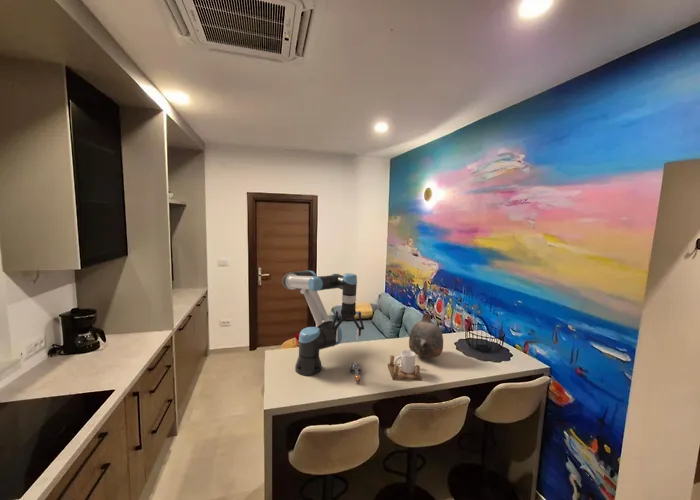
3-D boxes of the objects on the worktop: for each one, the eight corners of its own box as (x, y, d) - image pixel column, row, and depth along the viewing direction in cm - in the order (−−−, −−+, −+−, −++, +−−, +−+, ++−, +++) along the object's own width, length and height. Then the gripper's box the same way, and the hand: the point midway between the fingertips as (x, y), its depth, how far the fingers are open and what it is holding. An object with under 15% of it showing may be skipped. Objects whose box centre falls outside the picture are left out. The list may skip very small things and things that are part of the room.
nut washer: (349, 374, 172) (349, 372, 172) (349, 368, 179) (349, 366, 179) (362, 374, 172) (362, 372, 172) (360, 368, 179) (360, 366, 179)
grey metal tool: (351, 382, 162) (352, 375, 161) (349, 367, 178) (350, 361, 178) (363, 382, 162) (363, 375, 162) (360, 367, 179) (360, 361, 178)
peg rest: (392, 379, 168) (393, 367, 167) (387, 365, 184) (388, 354, 183) (421, 380, 169) (422, 368, 168) (413, 366, 185) (414, 355, 184)
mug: (396, 374, 171) (397, 356, 170) (391, 367, 179) (392, 350, 178) (416, 373, 173) (417, 356, 172) (411, 366, 181) (412, 349, 180)
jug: (447, 366, 186) (451, 318, 184) (412, 365, 186) (415, 317, 183) (435, 349, 211) (439, 307, 208) (404, 348, 211) (407, 306, 208)
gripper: (327, 303, 162) (325, 343, 164) (370, 304, 163) (368, 344, 165) (327, 299, 169) (326, 338, 171) (369, 300, 171) (367, 338, 173)
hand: (347, 341), depth 168 cm, fingers open, 11 cm apart
